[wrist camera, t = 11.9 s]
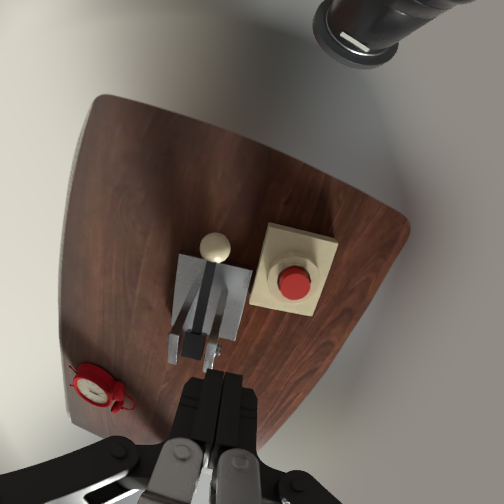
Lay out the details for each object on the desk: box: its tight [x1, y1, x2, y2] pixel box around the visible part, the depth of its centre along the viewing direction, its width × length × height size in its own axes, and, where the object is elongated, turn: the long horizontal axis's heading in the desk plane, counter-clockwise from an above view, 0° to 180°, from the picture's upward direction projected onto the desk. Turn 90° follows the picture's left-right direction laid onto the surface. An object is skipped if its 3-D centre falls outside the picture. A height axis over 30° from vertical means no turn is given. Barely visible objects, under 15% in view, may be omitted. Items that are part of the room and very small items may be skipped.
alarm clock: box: [69, 363, 135, 413], centre depth 47 cm, size 10×6×15 cm
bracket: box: [167, 251, 253, 372], centre depth 34 cm, size 12×10×13 cm
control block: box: [249, 222, 338, 316], centre depth 36 cm, size 11×9×4 cm
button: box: [279, 267, 310, 300], centre depth 34 cm, size 4×4×2 cm
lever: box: [181, 233, 230, 361], centre depth 31 cm, size 14×3×3 cm, turn 167°
